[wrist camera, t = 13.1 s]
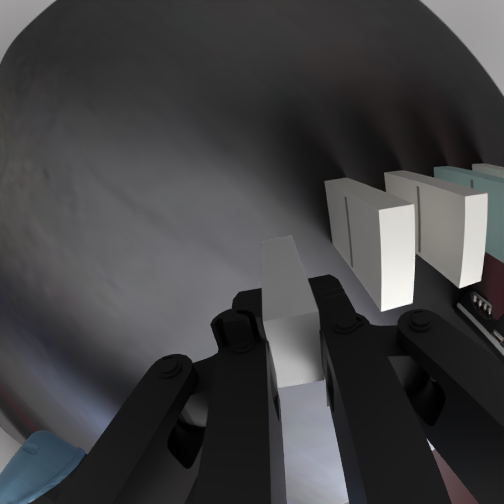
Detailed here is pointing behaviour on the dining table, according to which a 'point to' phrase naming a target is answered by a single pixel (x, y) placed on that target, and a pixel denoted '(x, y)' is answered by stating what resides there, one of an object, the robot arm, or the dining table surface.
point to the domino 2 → (445, 223)
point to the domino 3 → (498, 209)
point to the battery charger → (482, 322)
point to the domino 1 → (374, 239)
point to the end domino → (489, 169)
